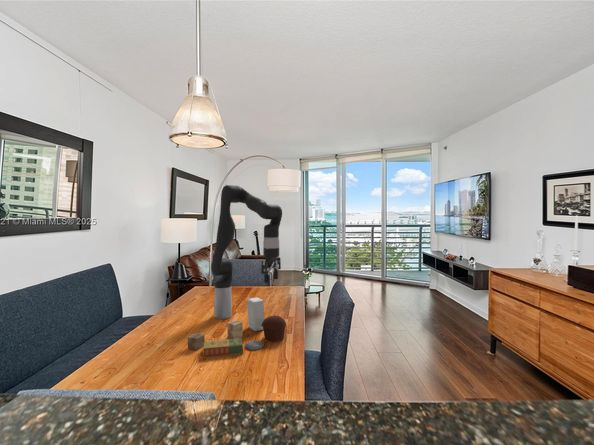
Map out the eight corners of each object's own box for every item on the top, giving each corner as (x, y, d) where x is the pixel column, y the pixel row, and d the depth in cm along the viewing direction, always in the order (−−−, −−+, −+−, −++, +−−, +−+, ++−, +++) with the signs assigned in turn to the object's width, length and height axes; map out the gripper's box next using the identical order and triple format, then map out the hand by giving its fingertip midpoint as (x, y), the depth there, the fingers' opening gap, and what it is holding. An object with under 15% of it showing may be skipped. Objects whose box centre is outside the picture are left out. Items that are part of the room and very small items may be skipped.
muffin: (284, 332, 152) (284, 312, 152) (288, 341, 142) (288, 319, 141) (260, 334, 150) (259, 314, 150) (262, 344, 139) (262, 321, 139)
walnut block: (187, 348, 135) (187, 337, 135) (195, 344, 140) (195, 333, 140) (197, 350, 133) (196, 338, 133) (204, 345, 138) (204, 334, 138)
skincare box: (265, 329, 157) (264, 300, 156) (254, 332, 153) (253, 302, 153) (257, 324, 164) (257, 296, 163) (247, 327, 160) (246, 298, 160)
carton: (204, 350, 134) (204, 340, 134) (242, 346, 138) (241, 336, 138) (203, 359, 126) (203, 348, 126) (243, 354, 130) (243, 344, 130)
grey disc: (241, 346, 136) (241, 344, 136) (255, 341, 142) (255, 339, 142) (253, 351, 131) (253, 350, 131) (267, 345, 137) (267, 344, 137)
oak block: (227, 337, 147) (227, 322, 147) (236, 334, 151) (235, 319, 151) (234, 340, 144) (233, 325, 144) (242, 336, 148) (242, 322, 148)
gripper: (271, 244, 155) (271, 277, 156) (256, 248, 142) (256, 283, 143) (285, 245, 152) (285, 278, 152) (270, 248, 139) (270, 284, 140)
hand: (271, 280), depth 148 cm, fingers open, 8 cm apart
